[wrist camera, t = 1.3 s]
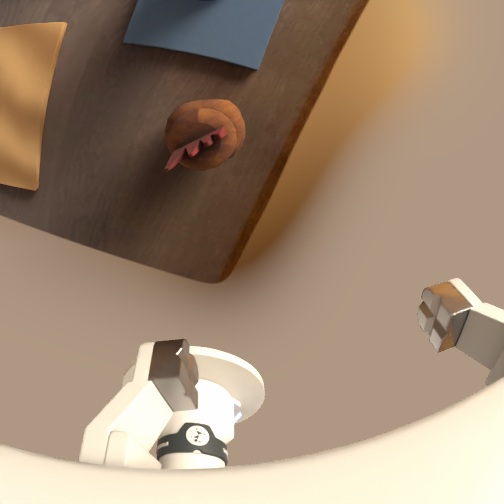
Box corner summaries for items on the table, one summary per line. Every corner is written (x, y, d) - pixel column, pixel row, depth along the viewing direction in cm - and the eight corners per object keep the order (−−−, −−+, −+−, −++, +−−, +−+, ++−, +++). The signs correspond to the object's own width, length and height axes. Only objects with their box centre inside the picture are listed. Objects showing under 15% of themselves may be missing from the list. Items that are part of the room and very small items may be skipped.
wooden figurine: (178, 156, 30) (146, 209, 17) (172, 103, 27) (129, 113, 14) (243, 149, 30) (260, 197, 18) (239, 95, 28) (254, 97, 15)
